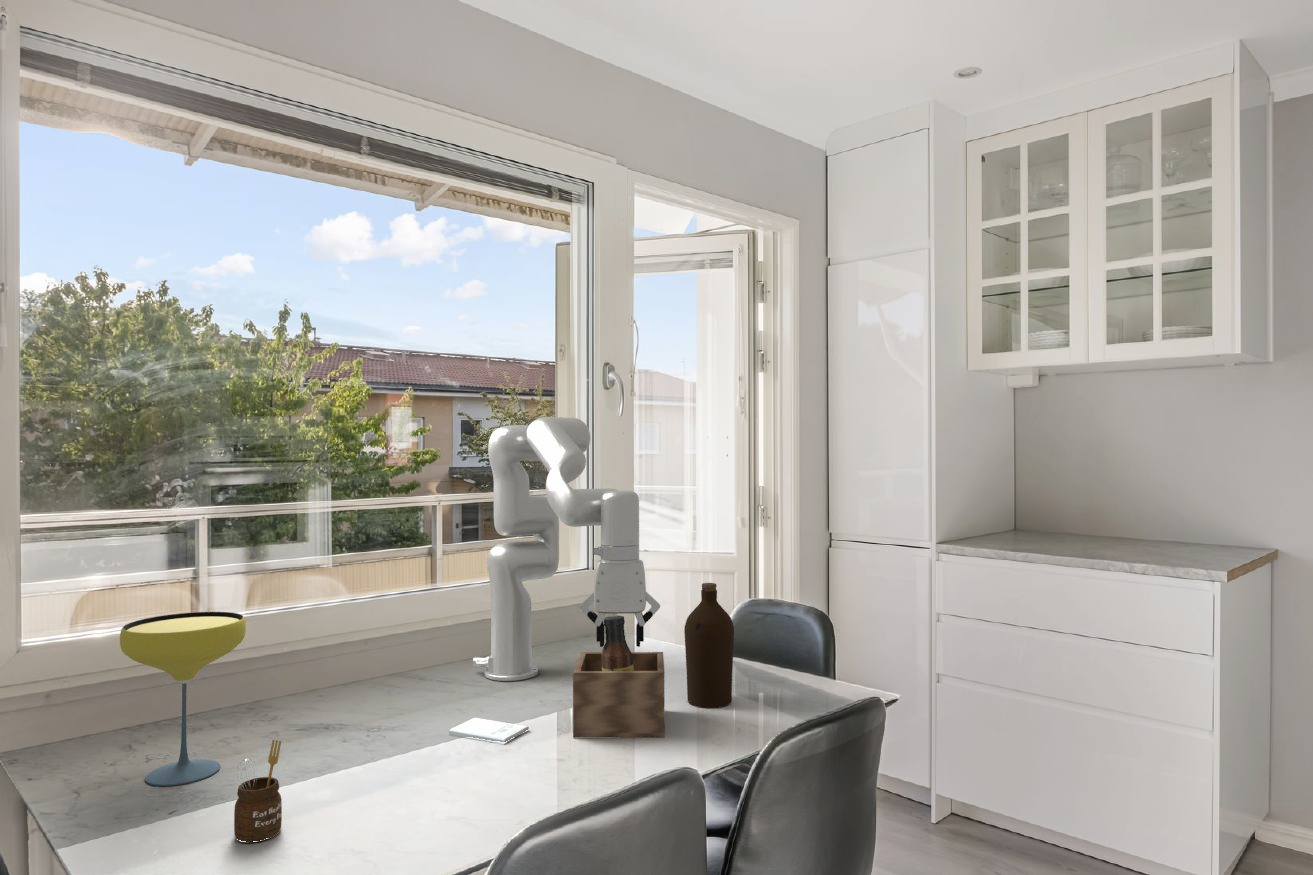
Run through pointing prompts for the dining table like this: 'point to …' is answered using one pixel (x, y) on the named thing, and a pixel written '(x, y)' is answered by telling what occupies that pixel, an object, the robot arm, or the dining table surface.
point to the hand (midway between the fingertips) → (620, 644)
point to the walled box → (619, 697)
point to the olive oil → (709, 652)
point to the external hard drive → (488, 730)
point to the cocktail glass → (182, 668)
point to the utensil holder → (258, 804)
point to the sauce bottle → (616, 646)
